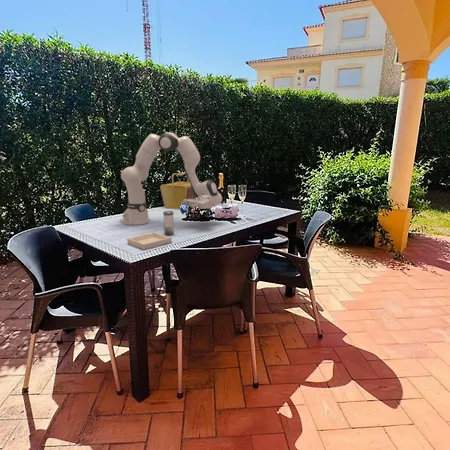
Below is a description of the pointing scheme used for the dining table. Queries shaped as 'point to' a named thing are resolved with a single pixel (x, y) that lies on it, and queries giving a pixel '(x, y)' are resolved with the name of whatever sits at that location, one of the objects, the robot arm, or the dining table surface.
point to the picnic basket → (176, 193)
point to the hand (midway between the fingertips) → (186, 205)
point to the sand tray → (149, 240)
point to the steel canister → (168, 223)
